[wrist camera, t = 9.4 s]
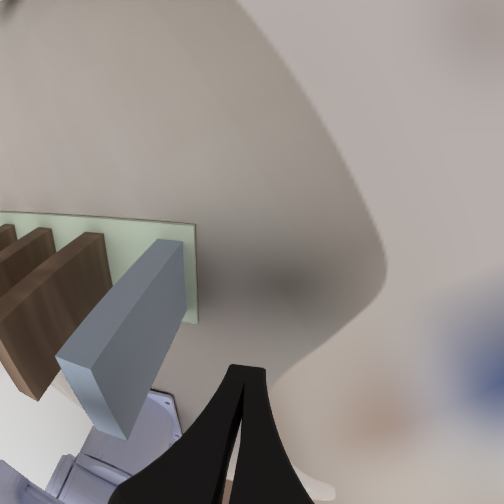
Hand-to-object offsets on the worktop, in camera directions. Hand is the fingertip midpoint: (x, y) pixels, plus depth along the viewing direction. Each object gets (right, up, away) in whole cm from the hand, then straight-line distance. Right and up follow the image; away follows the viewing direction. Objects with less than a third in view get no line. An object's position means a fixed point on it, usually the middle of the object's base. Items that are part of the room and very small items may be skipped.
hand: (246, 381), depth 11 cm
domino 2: (-10, +4, +7) cm, 13 cm away
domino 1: (-5, +4, +7) cm, 9 cm away
